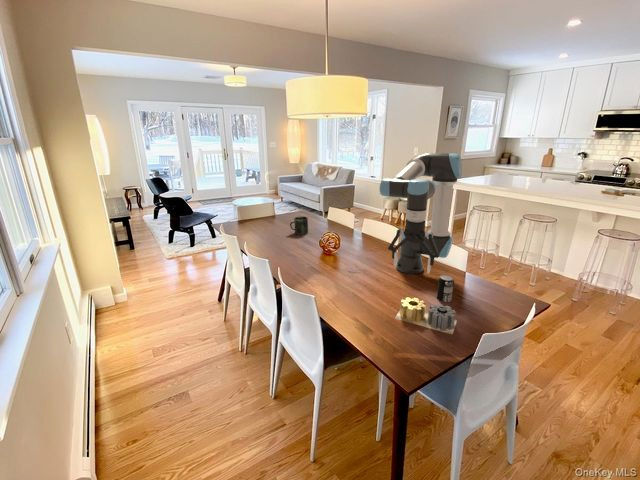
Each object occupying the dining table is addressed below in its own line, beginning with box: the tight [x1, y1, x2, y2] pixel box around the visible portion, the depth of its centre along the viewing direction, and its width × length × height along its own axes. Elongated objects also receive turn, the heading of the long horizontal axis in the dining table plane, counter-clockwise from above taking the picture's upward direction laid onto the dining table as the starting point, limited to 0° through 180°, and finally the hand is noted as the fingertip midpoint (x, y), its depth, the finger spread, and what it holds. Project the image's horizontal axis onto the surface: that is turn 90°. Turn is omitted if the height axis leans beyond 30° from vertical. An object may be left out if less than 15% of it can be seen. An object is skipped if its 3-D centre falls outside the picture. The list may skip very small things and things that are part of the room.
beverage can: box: [436, 274, 455, 303], centre depth 147 cm, size 7×7×12 cm
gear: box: [427, 303, 457, 332], centre depth 129 cm, size 10×10×7 cm
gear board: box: [394, 310, 458, 335], centre depth 132 cm, size 11×23×5 cm, turn 60°
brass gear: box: [399, 296, 427, 323], centre depth 134 cm, size 10×10×6 cm
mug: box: [289, 215, 309, 235], centre depth 248 cm, size 11×15×12 cm
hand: (411, 269), depth 132 cm, fingers open, 13 cm apart
